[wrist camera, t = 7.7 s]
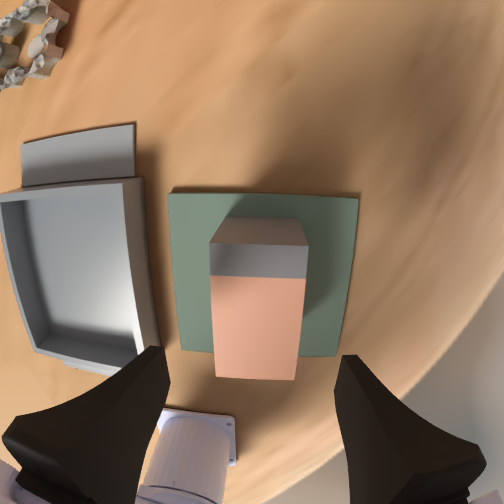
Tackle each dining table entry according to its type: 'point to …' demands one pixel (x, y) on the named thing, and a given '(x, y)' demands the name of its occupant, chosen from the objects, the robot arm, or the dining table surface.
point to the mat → (318, 265)
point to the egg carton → (11, 25)
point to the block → (257, 296)
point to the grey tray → (81, 250)
